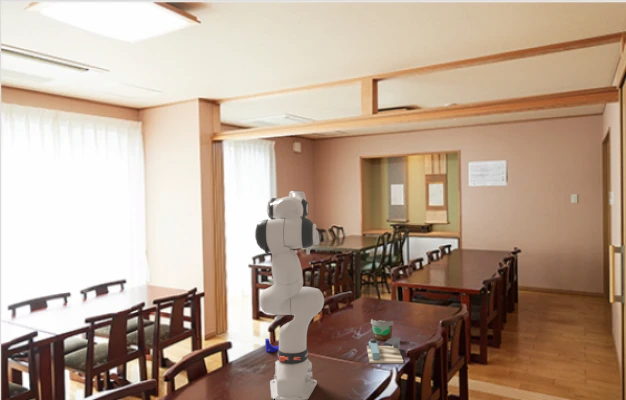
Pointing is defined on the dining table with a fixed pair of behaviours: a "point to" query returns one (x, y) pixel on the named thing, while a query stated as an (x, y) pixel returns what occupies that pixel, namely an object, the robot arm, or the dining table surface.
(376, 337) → the food container
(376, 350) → the link
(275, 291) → the robot arm
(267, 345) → the cable clip
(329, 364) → the dining table surface
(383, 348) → the board
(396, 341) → the keeper
